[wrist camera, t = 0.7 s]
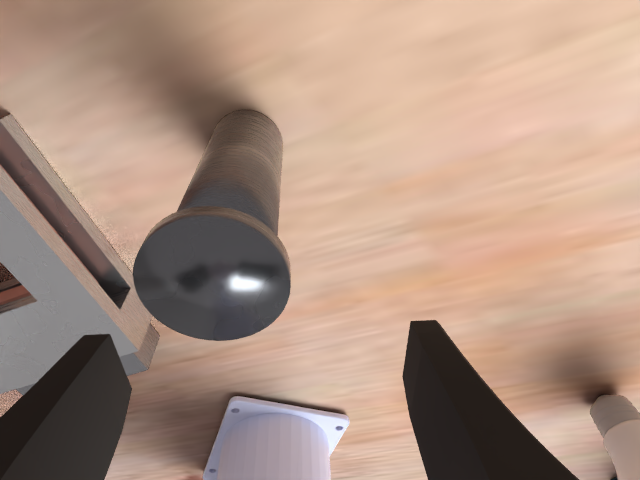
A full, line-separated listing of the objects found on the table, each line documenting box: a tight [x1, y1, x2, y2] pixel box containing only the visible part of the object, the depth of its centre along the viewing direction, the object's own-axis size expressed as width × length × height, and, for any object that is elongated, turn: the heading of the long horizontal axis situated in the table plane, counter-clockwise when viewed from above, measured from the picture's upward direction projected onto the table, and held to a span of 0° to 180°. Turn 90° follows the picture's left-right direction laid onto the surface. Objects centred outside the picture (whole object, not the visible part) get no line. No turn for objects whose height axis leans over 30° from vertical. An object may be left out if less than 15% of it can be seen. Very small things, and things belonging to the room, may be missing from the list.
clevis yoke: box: [0, 114, 160, 395], centre depth 20 cm, size 13×9×3 cm
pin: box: [133, 110, 291, 341], centre depth 15 cm, size 4×4×10 cm
